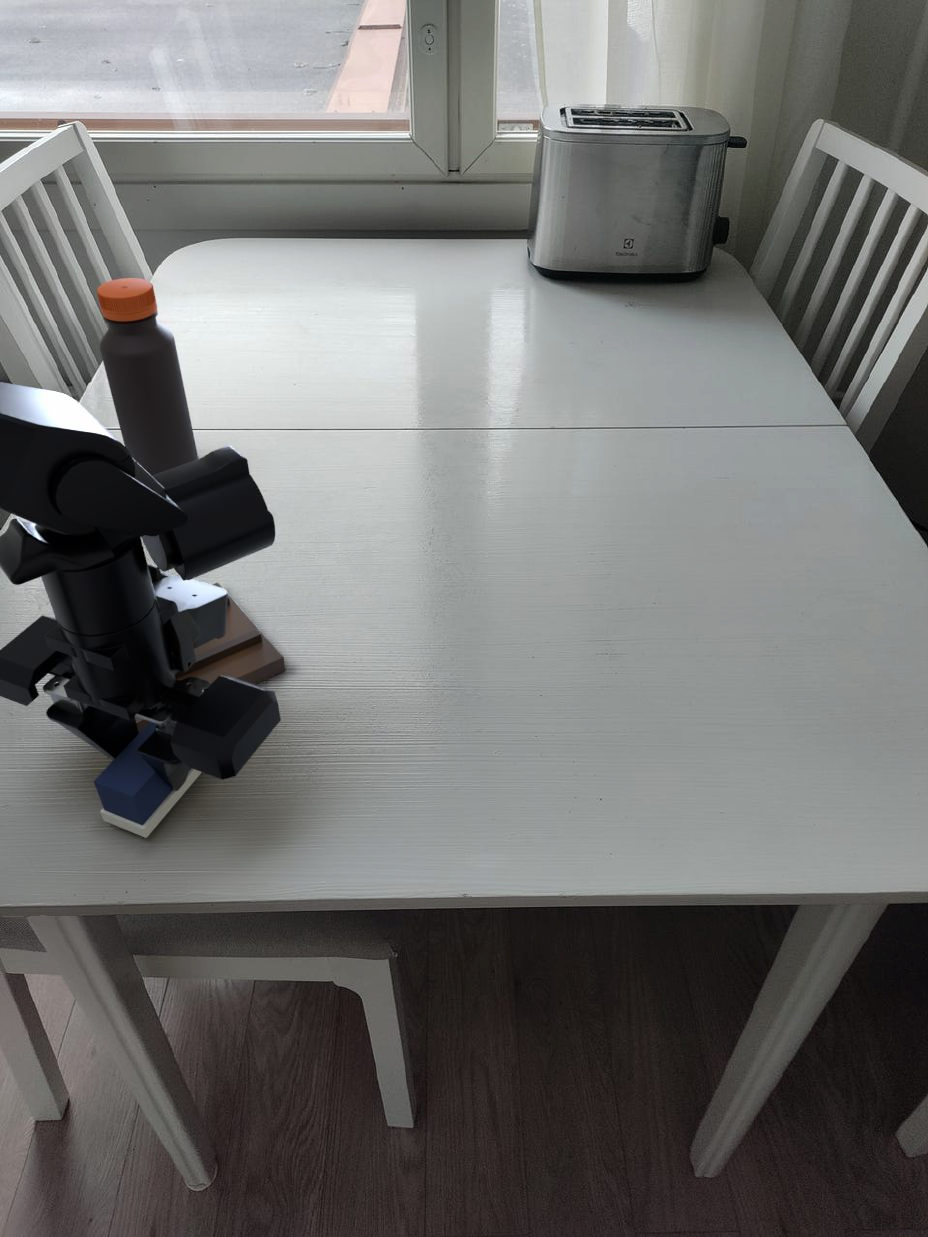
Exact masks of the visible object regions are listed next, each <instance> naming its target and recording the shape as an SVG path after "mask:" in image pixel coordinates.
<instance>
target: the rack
mask: <svg viewBox="0 0 928 1237" xmlns="http://www.w3.org/2000/svg"><path fill="white" fill-rule="evenodd" d="M211 585H214V586H217V587H221V588H223V589H225V588H224V587H223V586H222V585H221V584H220V582H219V581H218V582H215V583H213V584H211ZM194 653H195V657H196V662H195V663H194V664H193V665H192V666H191V667H190V668H189V669H188V670H187V671H186V672H182V671H178V672H177V673H176V674H175V678H176V680H183V679H185V678H188V677H196V678H199V679H202V680H205V681H208V682H211V683H213V682H214V681H215V680H216V679H217V677H218V676H219V675H222V676H230V677H233V678H236V679H239V680H242V681H245V682H248V683H251V684H254V685H257V684H259V683H262V682H264V681H266V680H268V679H271V678H272V677H275V676H277V675H280V674H281V673H283V672H286V670H287V669H286V663H285V658H284V655H282V653H281V652H280V651H279V650H278V649H277V648H276V647H275V645H274V644H273V643H272V642H271V641H270V640H269V638H267V636H266V635H265V634H264V632H262V631H261V629H260V628H259V627H258V626H257V624H256V623H255V622H254V621H253V620H252V619H251V618H250V617H249V616H248V614H247V613H246V612H245V611H244V609H242V608H241V606H240V605H239V604H238V603H237V602H236V601H235V599H234V598H233V597H232V596H231V595H230V594H229V593H228V599H227V616H226V633H225V636H224V637H222V638H220V639H217V638H215V639H213V640H211V641H209V642H207V643H205V644H203V645H201V646H199V647H198V648H195V649H194ZM135 719H136V723H137V728H138V732H139V733H140V732H141V731H142V730H143V729H144V728H145V727H146V725H147V724H148V723H149V722H150V721H147V720H144V719H142V718H139V717H136V716H135Z"/></svg>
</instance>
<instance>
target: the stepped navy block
mask: <svg viewBox="0 0 928 1237" xmlns="http://www.w3.org/2000/svg"><path fill="white" fill-rule="evenodd" d="M156 725H157V724H155V723H153V722H149V723H148V724H147V725H146V727H145V728H144V729H143V730H142V731H141V732H140V733H139V734H138V735H137V736H136V737H135V738H134V739H133V740H132V741H131V742H130V743H129V744H128V745H127V747H126V748H125V749H124V750H123V751H122V752H121V753H120V754H119V755H118V756H117V757H116V758H115V759H114V760H113V761H112V760H111V762H110V763H109V764H108V765H107V766H106V768H105V769H103V771H102V772H100V773H99V775H98V776H97V777H96V778H95V779H94V780H93V783H94V787H95V789H96V792H97V794H98V797H99V800H100V802H101V805H102V807H103V808H102V809H101V810H100V815H101V818H102V820H103V822H106V823H109V824H111V825H113V826H115V827H118V828H120V829H123V830H125V831H128V832H130V833H133V834H135V835H138V836H140V837H142V838H145V839H147V838H148V837H149V835H150V834H151V833H152V832H153V831H154V829H156V827H157V826H158V825H159V824H160V823H161V821H162V820H163V819H164V818H165V817H166V815H167V814H168V813H169V812H170V811H171V809H172V808H173V807H174V806H175V805H176V804H177V802H178V801H179V800H180V799H181V798H182V797H183V795H184V794H185V793H186V792H187V791H188V789H189V788H190V787H191V786H192V785H193V783H194V782H195V781H196V780H197V779H198V777H199V776H200V775H201V774H202V773H203V772H200V771H198V770H195V769H192V768H190V767H189V771H188V775H187V779H186V781H185V783H184V784H183V785H182V786H181V788H180V789H179V790H178V791H174V790H172V789H171V788H170V787H169V786H168V785H167V784H166V783H165V782H164V781H163V780H162V779H161V778H160V777H159V776H158V775H157V773H156V772H155V771H154V770H153V769H152V768H151V767H150V765H149V764H148V763H147V762H146V761H145V760H144V759H143V758H142V756H141V755H140V754H139V753H138V752H137V749H138V748H139V747H140V746H141V745H142V744H143V743H144V742H145V741H146V739H147V738H148V737H149V736H150V735H151V734H152V733H153V732H154V731H155V730H156V728H155V727H156Z"/></svg>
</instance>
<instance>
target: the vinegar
mask: <svg viewBox="0 0 928 1237" xmlns="http://www.w3.org/2000/svg"><path fill="white" fill-rule="evenodd" d="M96 294H97V299H98V302H99V307H100V311H101V315H102V316H103V320H104V322H106V323H107V324H108V329H107V330H106V332H105V333H104V335H103V336H102V337H101V339H100V343H99V351H100V355H101V359H102V363H103V366H104V370H105V375H106V379H107V383H108V386H109V390H110V394H111V398H112V402H113V406H114V409H115V410H114V411H115V414H116V418H117V421H118V425H119V429H120V433H121V437H122V441H123V445H124V446H125V447H126V448H127V449H128V450H129V452H130V455H131V457H132V458H133V459H134V460H135V461H136V462H137V463H139V464H140V465H141V466H142V467H143V468H144V469H145V470H146V471H147V472H148V473H149V474H150V475H151V476H153V475H155V474H158V473H161V472H164V471H167V470H170V469H172V468H175V467H178V466H181V465H184V464H187V463H189V462H192V461H195V460H198V459H199V455H198V450H197V444H196V440H195V435H194V430H193V424H192V419H191V415H190V409H189V405H188V400H187V394H186V390H185V386H184V385H185V384H184V380H183V375H182V370H181V366H180V361H179V360H180V359H179V355H178V351H177V345H176V340H175V336H174V335H173V333H172V332H171V331H170V330H169V329H168V328H167V327H165V326H164V325H163V324H161V323H160V322H158V320H157V317H158V314H159V312H158V303H157V299H156V294H155V290H154V285H153V283H152V282H151V281H149V280H147V279H144V278H139V277H124V278H116V279H112V280H109V281H106V282H104V283H102V284H101V285H99V286H98V287H97V289H96Z"/></svg>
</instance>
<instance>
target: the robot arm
mask: <svg viewBox="0 0 928 1237" xmlns="http://www.w3.org/2000/svg"><path fill="white" fill-rule="evenodd" d="M0 509H1V510H2V511H5V512H7V513H8V514H11V515H14V516H16V517H14V518H11V519H10V521H9V523H8V527H7V529H6V530H5V532H3V533H1V535H0V569H1V570H2V572H3V573H4V575H5V576H6V577H7V579H8V580H9V581H10V582H11V584H12V585H15V586H20V585H23V584H26V583H28V582H31V581H34V580H36V579H39V578H41V581H42V584H43V586H44V589H45V592H46V595H47V598H48V600H49V603H50V607H51V610H52V612H53V615H54V617H53V616H49V615H48V616H47V615H44V614H43V615H41V616H39V617H38V618H37V619H36V620H34V621H33V622H32V623H31V624H30V625H29V626H28V627H26V628H25V629H23V631H21V632H20V633H19V634H18V635H16V636H15V637H14V638H13V639H11V640H10V641H9V642H8V643H7V644H5V645H4V646H2V648H1V649H0V698H1V697H2V698H4V699H6V700H8V701H11V702H14V703H17V704H19V705H22V706H25V707H28V706H29V705H31V704H32V703H33V701H35V700H36V699H37V698H39V696H40V694H39V690H38V688H37V686H36V685H37V684H38V683H39V682H40V681H41V680H42V679H43V678H45V677H47V675H51V676H53V677H51V678H50V679H49V680H48V681H47V682H46V683H44V684H43V686H42V691H43V693H44V694H48V695H49V696H50V698H51V700H52V704H51V705H50V706H49V707H48V708H47V709H46V712H45V715H46V717H47V718H48V719H49V720H50V721H51V722H54V723H56V724H58V725H60V726H61V727H63V728H64V729H65V730H67V731H68V732H70V733H71V734H73V735H74V736H76V737H77V738H79V739H80V740H82V741H83V742H85V743H86V744H87V745H90V747H93V749H95V750H97V751H98V752H100V753H101V754H102V755H103V756H105V757H107V759H109V760H111V762H112V761H113V760H114V759H115V758H116V757H117V756H118V755H119V754H120V753H121V752H122V751H123V750H124V749H125V748H126V747H127V745H128V744H129V743H130V742H131V741H132V740H133V739H134V738H135V737H136V736H137V735H138V734H139V732H138V728H137V723H136V719H135V716H136V717H139V718H142V719H144V720H147V721H150V722H153V723H155V724H157V725H156V727H155V728H156V730H155V731H154V732H153V733H152V734H151V735H150V736H149V737H148V738H147V739H146V741H145V742H144V743H143V744H142V745H141V746H140V747H139V748H138V749H137V752H138V753H139V754H140V755H141V756H142V758H143V759H144V760H145V761H146V762H147V763H148V764H149V765H150V767H151V768H152V769H153V770H154V771H155V772H156V773H157V775H158V776H159V777H160V778H161V779H162V780H163V781H164V782H165V783H166V784H167V785H168V786H169V787H170V788H171V789H172V790H174V791H178V790H179V789H180V788H181V786H182V785H183V784H184V783H185V781H186V779H187V775H188V771H189V767H190V768H192V769H195V770H198V771H200V772H202V773H203V774H205V775H208V776H212V777H214V778H217V779H219V780H222V781H223V780H226V779H230V778H234V777H237V775H238V774H239V773H240V772H241V770H242V769H243V768H244V767H245V765H246V764H247V763H248V761H249V760H250V759H251V758H252V756H254V754H255V752H256V751H258V749H259V748H260V747H261V745H262V744H263V743H264V742H265V741H266V739H267V738H268V737H269V736H270V734H271V733H272V732H273V730H274V729H275V728H276V727H277V725H278V724H279V723H280V722H281V714H280V707H279V701H278V698H277V695H276V692H275V691H274V690H271V689H268V688H266V687H262V686H259V685H257V684H255V685H254V684H251V683H248V682H245V681H242V680H239V679H236V678H233V677H230V676H222V675H219V676H218V677H217V679H216V680H215V681H214V682H213V683H211V682H208V681H205V680H202V679H199V678H196V677H188V678H185V679H183V680H176V678H175V674H176V673H177V672H178V671H182V672H186V671H187V670H188V669H189V668H190V667H191V666H192V665H193V664H194V663H195V662H196V657H195V653H194V649H195V648H198V647H199V646H201V645H203V644H205V643H207V642H209V641H211V640H213V639H215V638H217V639H220V638H222V637H224V636H225V633H226V616H227V599H228V594H229V592H228V590H227V589H226V588H224V587H223V588H224V589H223V588H221V587H217V586H214V585H212V584H210V583H207V582H204V581H201V580H197V579H195V578H197V577H200V576H202V575H204V574H207V573H210V572H213V571H215V570H216V569H219V568H221V567H224V566H226V565H229V564H231V563H233V562H236V561H238V560H241V559H244V558H245V557H248V556H251V555H252V554H255V553H257V552H260V551H262V550H264V549H267V548H269V547H271V546H273V545H274V542H275V540H276V524H275V518H274V515H273V513H272V512H270V510H269V509H268V505H267V502H266V501H265V498H264V496H263V494H262V491H261V490H260V488H259V486H258V484H257V483H256V481H255V479H254V478H253V476H252V474H251V473H250V468H249V462H248V459H247V457H245V456H244V455H243V454H241V453H240V452H238V450H236V449H235V448H234V447H233V446H231V445H225V446H223V447H220V448H218V449H215V450H213V451H210V452H209V453H206V454H205V455H204V456H202V457H200V458H198V460H195V461H192V462H189V463H187V464H184V465H181V466H178V467H175V468H172V469H170V470H167V471H164V472H161V473H158V474H155V475H153V476H151V475H150V474H149V473H148V472H147V471H146V470H145V469H144V468H143V467H142V466H141V465H140V464H139V463H137V462H136V461H135V460H134V459H133V458H132V457H131V455H130V452H129V450H128V449H127V448H126V447H125V445H124V443H122V442H121V441H120V440H119V439H118V438H117V437H115V435H113V433H111V432H110V431H109V429H108V428H106V427H105V426H104V425H103V424H102V423H101V422H100V421H99V420H98V419H97V418H96V417H95V416H94V415H93V414H92V413H91V412H89V411H88V410H87V409H86V408H85V407H84V406H83V405H82V404H81V403H80V402H79V401H78V400H76V399H74V398H73V397H71V396H69V395H68V394H65V393H62V392H58V391H56V390H49V389H44V388H37V387H32V386H26V385H20V384H14V383H9V382H2V381H0ZM17 517H19V518H17ZM21 519H23V520H21ZM24 520H26V521H24ZM27 521H28V522H27ZM143 545H144V546H143ZM144 547H145V549H146V551H147V553H148V555H149V557H150V558H151V559H152V562H153V563H154V564H151V563H148V561H147V557H146V553H145V550H144ZM173 569H174V571H175V572H176V573H177V574H178V575H173V574H170V573H166V572H168V571H170V570H173Z"/></svg>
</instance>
